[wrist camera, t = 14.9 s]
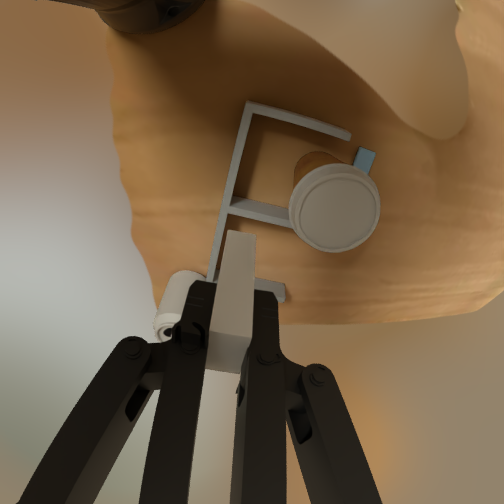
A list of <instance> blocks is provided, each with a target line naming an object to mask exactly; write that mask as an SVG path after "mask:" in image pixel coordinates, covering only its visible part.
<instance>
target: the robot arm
mask: <svg viewBox="0 0 504 504" xmlns="http://www.w3.org/2000/svg"><path fill="white" fill-rule="evenodd" d="M36 1H37V0H36ZM50 1H56V2H62V3H67V4H72V5H77V6H82V7H86V8H90V9H94V10H95V11H96V12H97V13H98V15H99V16H100V18H101V19H102V20H103V21H104V22H105V23H106V24H107V25H109V26H110V27H112V28H114V29H116V30H119V31H123V32H127V33H131V34H150V33H155V32H159V31H162V30H165V29H168V28H170V27H173V26H175V25H177V24H178V23H180V22H182V21H183V20H185V19H186V18H188V17H189V16H190V15H191V14H193V13H194V12H195V11H196V10H197V9H198V8H199V7H200V6H201V5H202V3H203V2H204V1H205V0H50ZM255 253H256V234H250V233H245V232H239V231H234V230H228V231H227V236H226V242H225V247H224V252H223V257H222V262H221V268H220V273H219V278H218V283H212V282H207V281H201V280H195V281H194V282H193V283H192V285H191V286H190V287H189V290H188V294H187V297H186V301H185V304H184V308H183V312H182V315H181V319H180V320H179V321H178V322H177V323H175V324H174V326H173V327H172V329H171V333H172V338H171V339H169V340H167V341H165V342H160V343H147V341H145V340H144V339H142V338H140V337H136V336H129V337H127V338H124V339H122V340H121V341H120V342H119V343H118V344H117V345H116V347H115V348H114V350H113V351H112V353H111V354H110V355H109V357H108V358H107V360H106V361H105V362H104V364H103V365H102V367H101V368H100V370H99V371H98V373H97V374H96V375H95V377H94V378H93V380H92V381H91V383H90V384H89V386H88V387H87V389H86V390H85V392H84V393H83V395H82V396H81V398H80V399H79V401H78V402H77V404H76V405H75V407H74V408H73V410H72V411H71V413H70V414H69V416H68V418H67V419H66V421H65V422H64V424H63V426H62V427H61V429H60V430H59V432H58V434H57V435H56V437H55V438H54V440H53V442H52V443H51V445H50V447H49V448H48V450H47V452H46V453H45V455H44V457H43V458H42V460H41V462H40V463H39V465H38V467H37V469H36V471H35V472H34V474H33V476H32V478H31V479H30V481H29V483H28V485H27V487H26V489H25V491H24V492H23V494H22V496H21V498H20V500H19V502H18V503H16V504H93V503H94V501H95V499H96V497H97V495H98V493H99V491H100V489H101V487H102V486H103V484H104V482H105V480H106V478H107V476H108V474H109V472H110V471H111V469H112V467H113V465H114V463H115V461H116V459H117V457H118V455H119V454H120V452H121V450H122V448H123V446H124V444H125V443H126V441H127V439H128V437H129V435H130V433H131V432H132V430H133V428H134V426H135V424H136V422H137V420H138V419H139V417H140V415H141V413H142V411H143V410H144V408H145V406H146V404H147V402H148V401H149V399H150V397H151V395H152V393H153V392H154V390H159V389H160V394H159V398H158V403H157V407H156V412H155V416H154V421H153V426H152V431H151V436H150V442H149V446H148V452H147V457H146V462H145V468H144V474H143V480H142V485H141V492H140V498H139V504H188V496H189V487H190V477H191V469H192V461H193V453H194V445H195V437H196V430H197V422H198V414H199V407H200V400H201V394H202V386H203V379H204V372H205V369H210V370H216V371H222V372H229V373H236V374H240V371H241V376H240V382H239V385H238V387H237V390H236V393H237V394H238V395H237V408H236V422H235V437H234V450H233V464H232V478H231V492H230V504H286V484H287V482H286V481H287V480H286V479H287V478H286V421H287V424H288V428H289V431H290V434H291V438H292V442H293V445H294V448H295V452H296V455H297V459H298V462H299V465H300V469H301V472H302V475H303V479H304V482H305V485H306V489H307V492H308V495H309V499H310V501H311V504H382V501H381V498H380V496H379V493H378V490H377V487H376V485H375V482H374V479H373V476H372V473H371V471H370V468H369V465H368V462H367V460H366V457H365V454H364V452H363V449H362V446H361V444H360V441H359V439H358V436H357V433H356V431H355V428H354V425H353V423H352V421H351V418H350V415H349V413H348V410H347V408H346V405H345V402H344V400H343V397H342V395H341V392H340V390H339V387H338V385H337V382H336V380H335V377H334V375H333V373H332V372H331V370H330V369H328V368H327V367H326V366H324V365H321V364H310V365H308V366H307V367H304V366H301V365H299V364H296V363H294V362H292V361H290V360H288V359H287V358H286V357H285V356H284V355H283V354H282V352H281V349H280V343H279V319H278V300H277V298H276V296H275V295H274V293H273V292H270V291H264V290H258V289H254V278H255Z"/></svg>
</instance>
